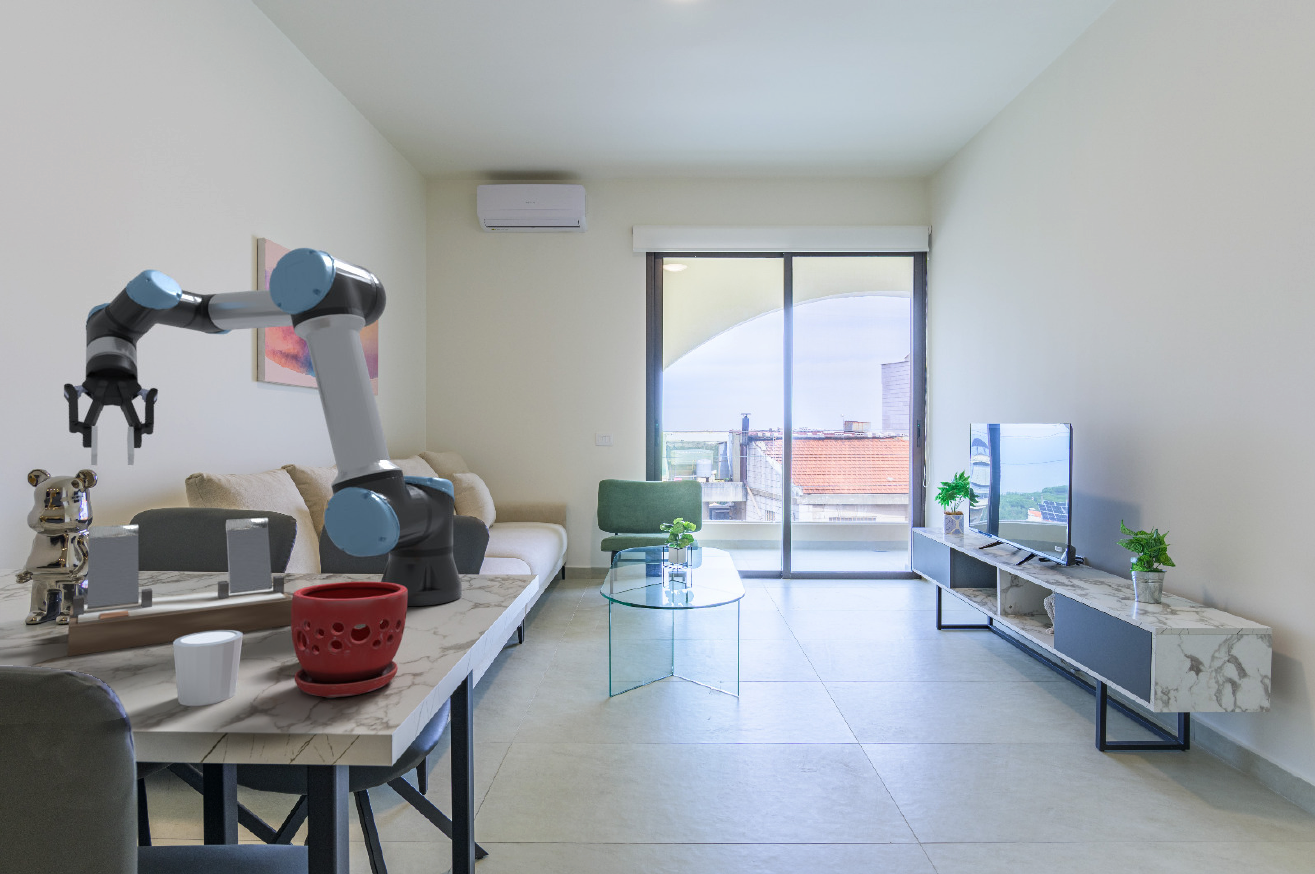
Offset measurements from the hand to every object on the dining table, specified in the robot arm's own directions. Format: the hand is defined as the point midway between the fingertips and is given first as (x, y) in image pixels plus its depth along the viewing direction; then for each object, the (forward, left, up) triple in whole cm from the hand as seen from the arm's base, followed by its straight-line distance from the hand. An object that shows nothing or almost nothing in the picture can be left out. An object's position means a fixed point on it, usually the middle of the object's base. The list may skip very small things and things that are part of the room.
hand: (112, 459), depth 116 cm
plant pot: (-59, +16, -27) cm, 66 cm away
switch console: (-18, +2, -26) cm, 32 cm away
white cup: (-46, +24, -26) cm, 58 cm away
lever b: (-13, +9, -22) cm, 27 cm away
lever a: (-23, -5, -22) cm, 32 cm away
